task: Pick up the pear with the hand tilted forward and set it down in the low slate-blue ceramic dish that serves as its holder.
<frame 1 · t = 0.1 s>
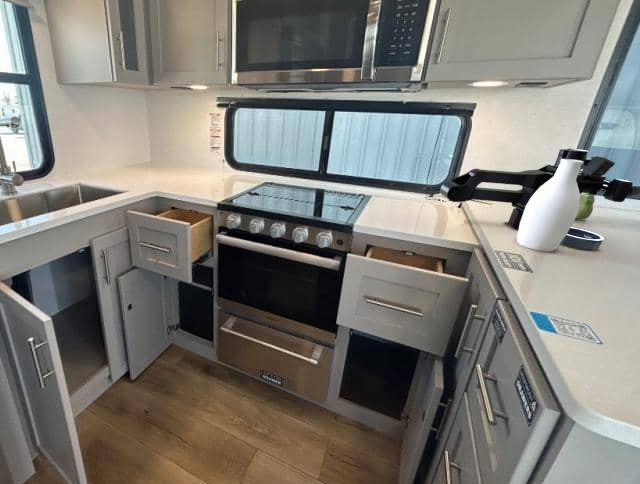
hand: (628, 187, 103), 17 cm above the countertop, tool horizontal, fingers open, 9 cm apart
pear: (577, 219, 125), on the countertop
bottle: (534, 246, 99), on the countertop
holder: (572, 243, 102), on the countertop
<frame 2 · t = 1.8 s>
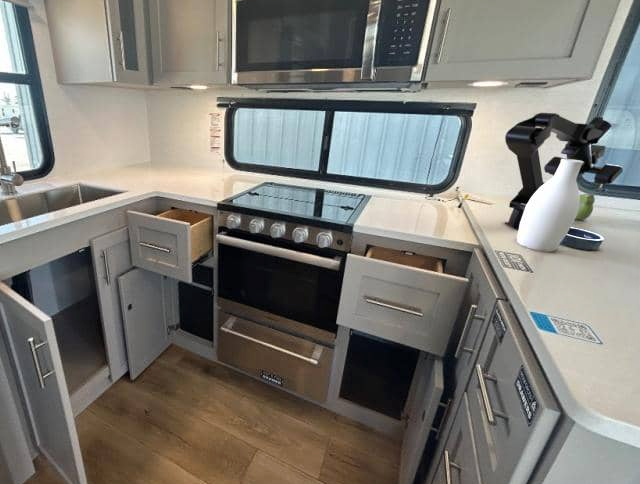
hand: (582, 185, 117), 14 cm above the countertop, tool tilted 45°, fingers open, 9 cm apart
nothing on the countertop moved.
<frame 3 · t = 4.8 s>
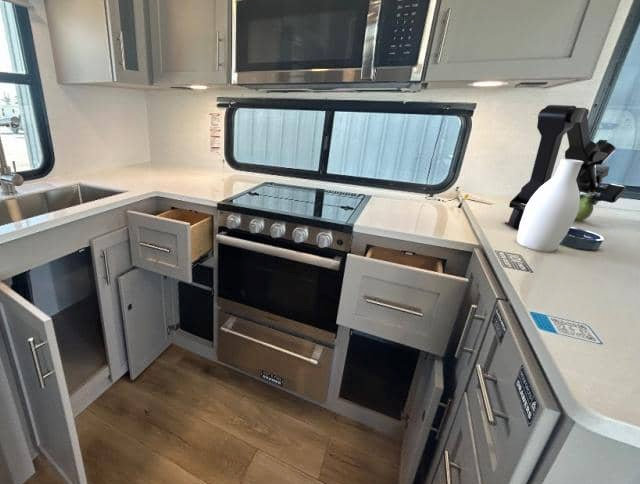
hand: (587, 202, 123), 7 cm above the countertop, tool tilted 45°, fingers closed on pear, 4 cm apart
pear: (577, 219, 125), on the countertop, touching gripper
everything else where it was.
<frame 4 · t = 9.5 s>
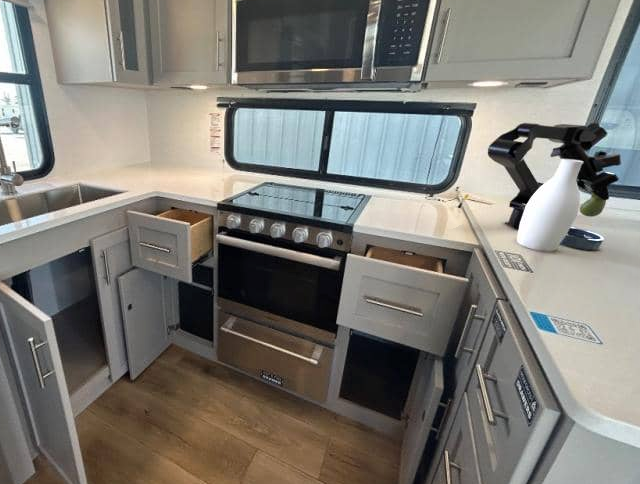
hand: (602, 197, 107), 12 cm above the countertop, tool tilted 45°, fingers closed on pear, 4 cm apart
pear: (586, 216, 110), point 6 cm above the countertop, touching gripper
everything else where it was.
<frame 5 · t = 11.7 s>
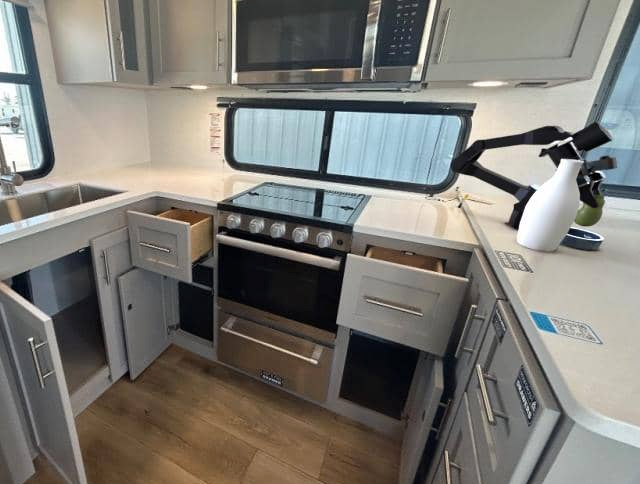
hand: (598, 206, 96), 12 cm above the countertop, tool tilted 45°, fingers closed on pear, 4 cm apart
pear: (581, 226, 100), point 6 cm above the countertop, touching gripper
everything else where it was.
when the fingers open (7 cm above the countertop, at t = 14.0 s): pear stays where it is, resting on holder.
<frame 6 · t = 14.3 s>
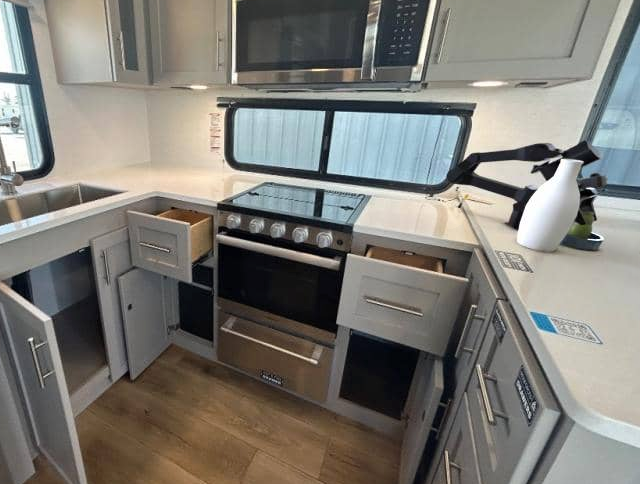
hand: (589, 222, 98), 7 cm above the countertop, tool tilted 45°, fingers open, 8 cm apart
pear: (572, 242, 102), resting on holder
everything else where it was.
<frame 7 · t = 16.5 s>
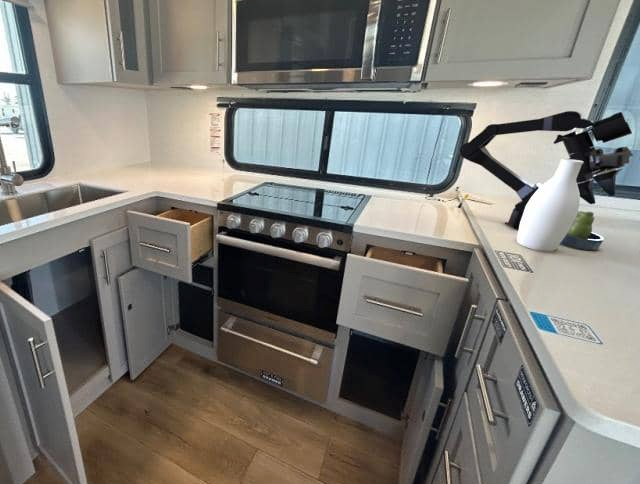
hand: (602, 199, 97), 14 cm above the countertop, tool tilted 35°, fingers open, 9 cm apart
nothing on the countertop moved.
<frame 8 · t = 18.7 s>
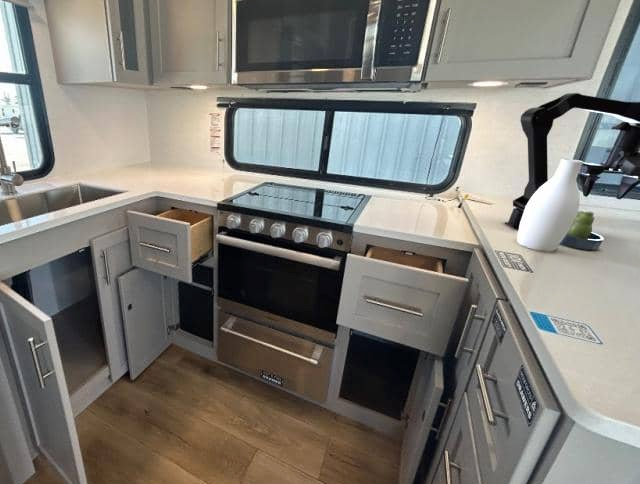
hand: (601, 197, 104), 13 cm above the countertop, tool pointing down, fingers open, 9 cm apart
nothing on the countertop moved.
at the end: pear 0.2 cm off-centre in the holder, point 0.3 cm above the holder's base; the gripper is holding nothing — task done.
